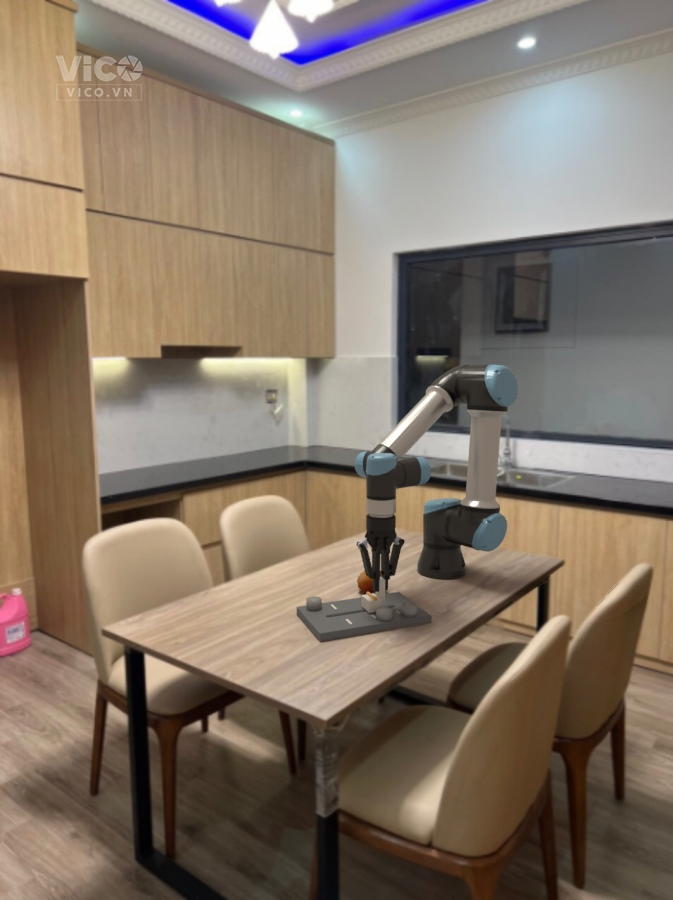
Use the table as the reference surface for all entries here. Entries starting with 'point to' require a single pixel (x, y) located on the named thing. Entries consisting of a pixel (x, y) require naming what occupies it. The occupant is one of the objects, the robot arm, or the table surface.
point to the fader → (370, 602)
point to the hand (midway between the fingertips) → (380, 602)
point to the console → (359, 616)
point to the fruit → (365, 583)
